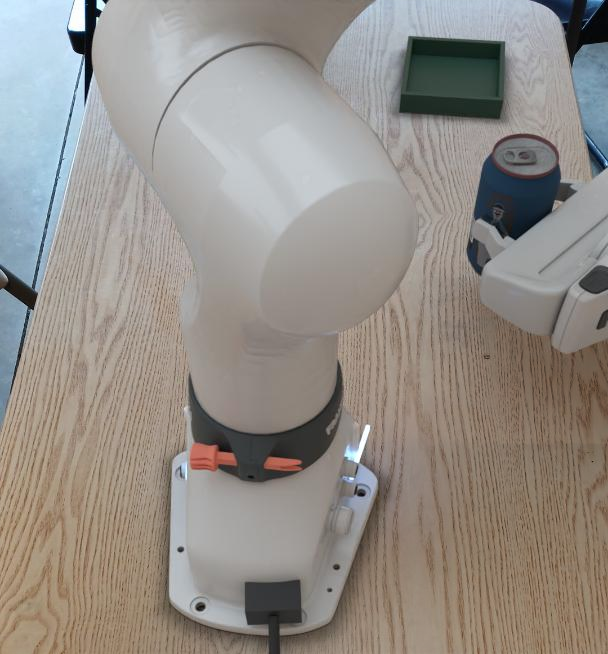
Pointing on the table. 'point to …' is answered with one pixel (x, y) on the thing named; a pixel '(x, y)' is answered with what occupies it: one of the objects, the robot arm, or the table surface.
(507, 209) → the soda can
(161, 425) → the table surface
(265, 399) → the robot arm
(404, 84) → the serving tray
